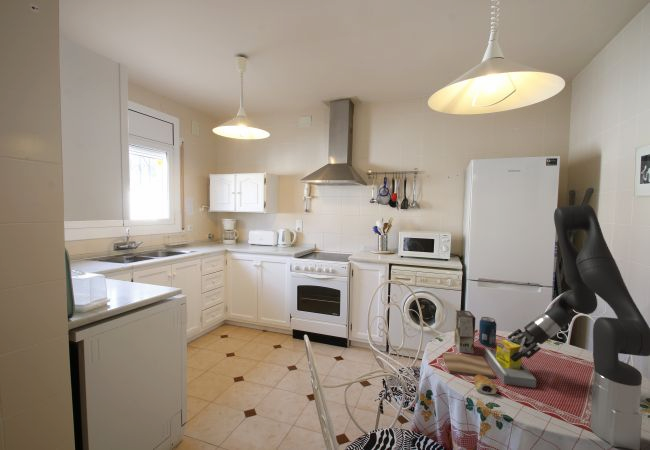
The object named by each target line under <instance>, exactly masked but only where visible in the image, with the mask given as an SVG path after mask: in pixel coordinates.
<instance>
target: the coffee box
mask: <svg viewBox="0 0 650 450" xmlns="http://www.w3.org/2000/svg"><path fill="white" fill-rule="evenodd" d="M475 333H476V317H475V315H474V314H473V313H472V312H471V311H470V310H458V309H456V310H455V316H454V345H455V347H456V349H457V350H458V352H459V353H466V354H474V353H475V335H476V334H475Z"/></svg>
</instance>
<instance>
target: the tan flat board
mask: <svg viewBox="0 0 650 450" xmlns="http://www.w3.org/2000/svg"><path fill="white" fill-rule="evenodd" d="M441 356H442V358H443V360H444V363H445V365H446V368H447V370H448V373H450V374H455V375H463V376H472V377H475V376H476V375H479V374H480V375H483V376H486V377H488V378H489V379H490V378H491V379H496V374H495V372H494V371H493V370H492V369H491V366H489V364H488V363H487V361H486V360H485V359H484V357H483V356H476V355H475V356H474V355H465V354H458V353H457V354H455V353H448V352H442V353H441Z"/></svg>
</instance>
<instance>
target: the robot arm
mask: <svg viewBox="0 0 650 450" xmlns="http://www.w3.org/2000/svg"><path fill="white" fill-rule="evenodd" d="M553 219H554V220H553V221H554V226H555V231H556V235H557V239H558V245H559V247H560V252H561V255H562V261H563V269H564V271H563V272H564V279H565V283H566V284H567V285H568V286H569V287H570V289H568V290H567V291H564V292H563V293H562V294H561V295H560V296H559V298H558V299H557V300H556V302H555V303H554V305H553V306H551V308H549V309H548V310H547V311H545V312H544V313H542V314H541V315H539V316H537V317H536V318H534V319H533V320H532V321H530V322H529V323H528V324H527V325H525V326H524V327H523V329H524V331H523V330H521V329H520V328H518V329H516V330H515V331H513V332H512V333H511V334H509V335H507V340H510V341H511V342H513V343H515V344H517V345H520V349H519V352H518V351H517V352H516V353H515V354H513V355H512V356H511V357H510V358H511V359H512V360H513V361H514V362H516V361H518V360H519V359H521V360H522V358H523V357H524V358H527V359H530V358H532V357H533V356H534V355H535V354H537V353H538V352H539V351H540V350H541V349H542V348H541V347H540V346H539V345H543V344H544V343H546V342H547V341H548V340H551V338H553V337H555V335H557V334H558V333H559V332H560V331H561V330H562V329H563V328H565V327H566V326H567V325H569V324H570V323H572V321H573V316H572V315H571V313H572V311H573V310H574V311H575V312H576V311H577V312H579V314H584V315H590V314H593V313H595V312H596V310H597V308H598V298H597V296H598V297H600V298H601V299H602V300H603V301H604V302H606V304H607V305H608V306H609V307H610V308H611V309H612V311H613V312H614V314H615V316H616V317H608V316H607V317H606V316H604V317H603V316H600V317H598V318H596V320H594V323H593V326H592V327H593V328H592V358H593V378H592V395H591V407H590V408H591V409H590V410H591V411H590V425H589V427H590V429H591V432H593V433H594V435H596V436H597V437H598V438H600V439H601V440H604V441H605V442H607V443H608V444H610V446H612V447H616V448H622V449H628V450H640V448H641V435H642V434H641V433H642V422H643V415H642V414H641V413H640V407H641V394H642V381H643V375H642V373H641V372H640V371H639V369H637V368H636V367H634V366H633V365H630V364H628V363H627V362H624V361H622V360H619V355H620V354H621V355H622V354H623V355H630V356H638V357H650V327H649V324H648V322H647V321H646V319H645V318H644V315H643V314H642V313H641V311H640V310H639V308H638V305H636V303H635V301H634V299H633V297H632V296H631V294H630V292H629V290H628V287H627V285H626V283H625V281H624V278H623V276H622V274H621V271H620V269H619V267H618V264H617V262H616V260H615V258H614V256H613V254H612V252H611V250H610V248H609V246H608V243H607V242H606V240H605V236H604V234H603V232H602V229H601V225H600V222H599V219H598V216H597V214H596V211H595V209H594V208H593V206H591V204H587V203H586V204H574V205H565V206H558V207H557V208H555V210H554V212H553ZM575 231H577V232H578V231H585V232H586V240H585V242H584V244H583V246H582V247H581V249H580V251H579V249H578V248H577V247H576V246H575V245H574V244H573V242H572V241H571V238H570V235H569V232H575ZM538 344H539V345H538Z"/></svg>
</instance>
